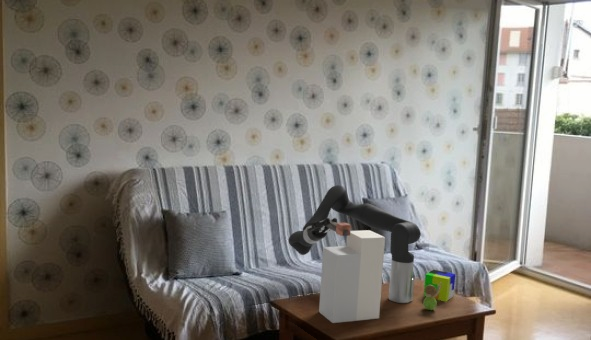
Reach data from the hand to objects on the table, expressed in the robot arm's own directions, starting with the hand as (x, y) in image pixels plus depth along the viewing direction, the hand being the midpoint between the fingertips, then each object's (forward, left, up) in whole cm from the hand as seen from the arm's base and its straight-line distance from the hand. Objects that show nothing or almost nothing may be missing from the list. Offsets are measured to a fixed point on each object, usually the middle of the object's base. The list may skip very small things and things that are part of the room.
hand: (332, 220), depth 243 cm
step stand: (-5, +10, -36) cm, 37 cm away
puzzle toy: (-55, -1, -36) cm, 66 cm away
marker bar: (0, +3, -3) cm, 5 cm away
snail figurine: (-41, +13, -36) cm, 56 cm away
